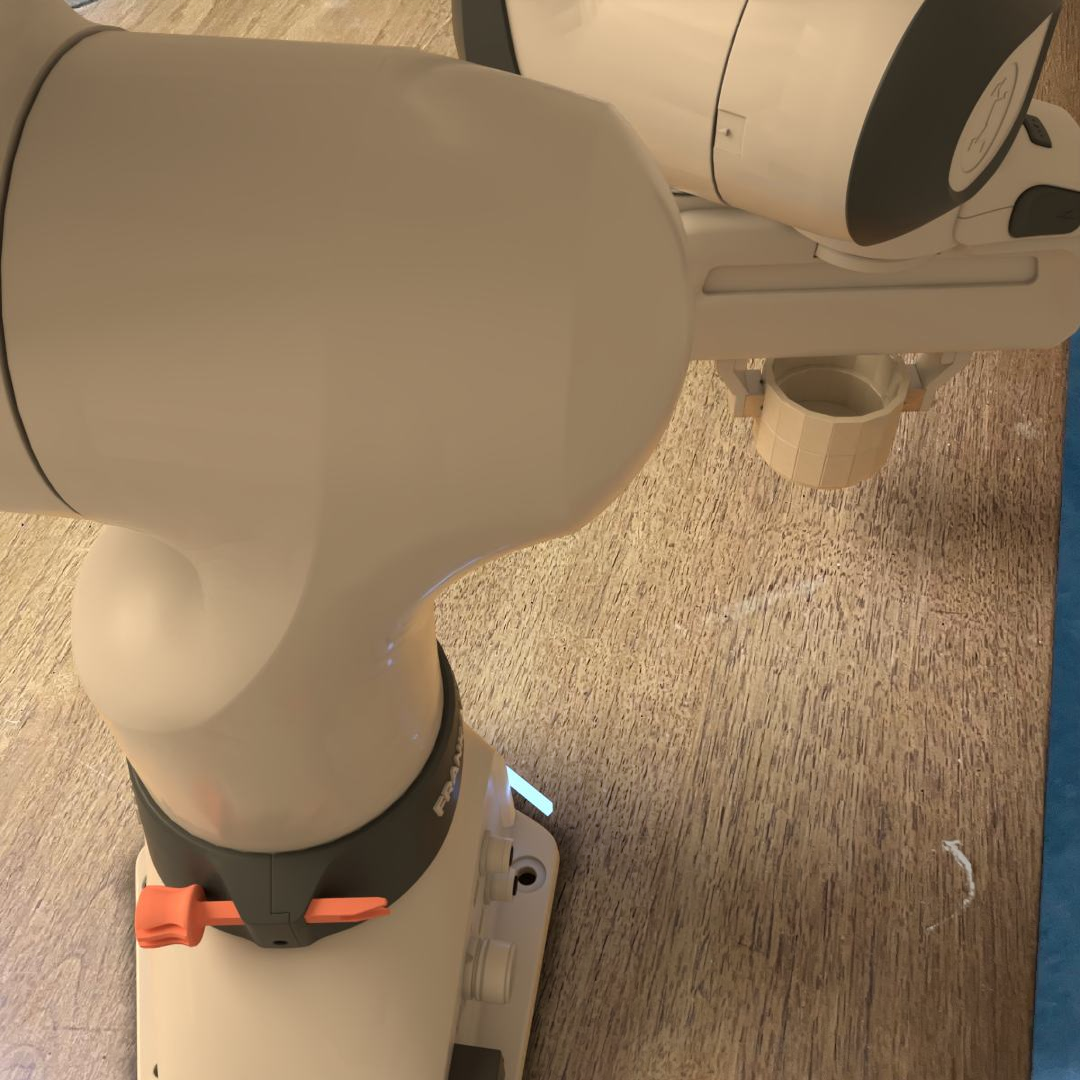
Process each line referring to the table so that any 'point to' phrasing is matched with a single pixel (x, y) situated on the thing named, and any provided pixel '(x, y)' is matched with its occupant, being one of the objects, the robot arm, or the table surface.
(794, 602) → the table surface
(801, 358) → the bowl
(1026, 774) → the table surface
